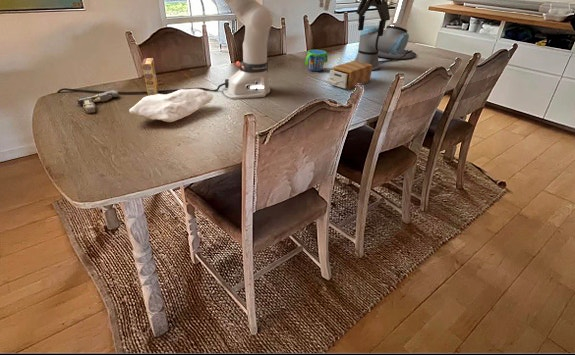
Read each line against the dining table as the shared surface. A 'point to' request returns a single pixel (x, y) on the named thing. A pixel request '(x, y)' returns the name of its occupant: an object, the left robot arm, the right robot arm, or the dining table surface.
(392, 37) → the right robot arm
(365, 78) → the cabinet
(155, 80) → the candy box
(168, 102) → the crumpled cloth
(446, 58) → the dining table surface
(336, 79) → the drawer
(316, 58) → the snack cup
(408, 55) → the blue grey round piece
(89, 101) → the handgun
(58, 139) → the dining table surface
